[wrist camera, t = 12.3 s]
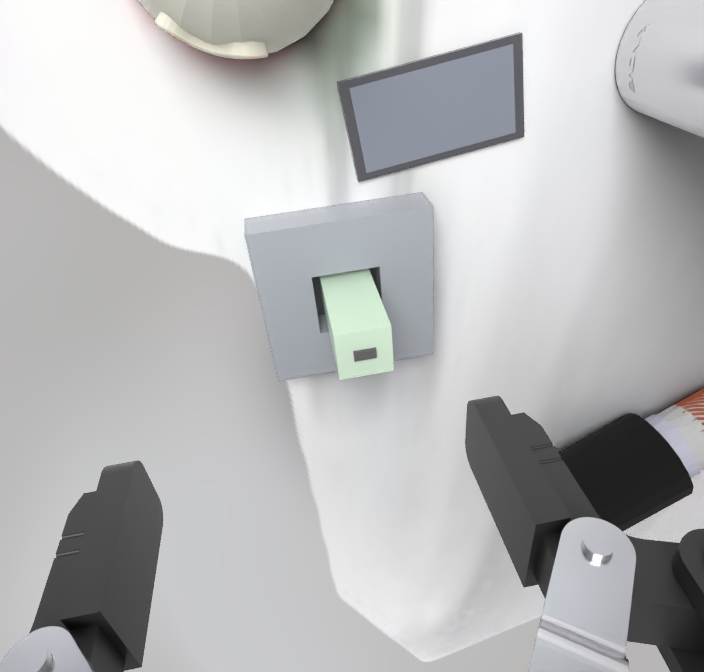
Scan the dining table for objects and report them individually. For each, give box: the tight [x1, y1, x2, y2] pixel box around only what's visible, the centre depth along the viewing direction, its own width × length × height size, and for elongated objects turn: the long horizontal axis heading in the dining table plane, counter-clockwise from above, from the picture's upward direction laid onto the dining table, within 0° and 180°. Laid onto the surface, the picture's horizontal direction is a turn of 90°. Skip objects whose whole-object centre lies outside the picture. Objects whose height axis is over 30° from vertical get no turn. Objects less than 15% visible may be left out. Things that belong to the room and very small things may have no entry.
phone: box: [337, 33, 524, 181], centre depth 38 cm, size 7×13×1 cm, turn 102°
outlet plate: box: [245, 192, 433, 381], centre depth 44 cm, size 14×14×3 cm
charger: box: [319, 268, 394, 380], centre depth 41 cm, size 4×4×10 cm
